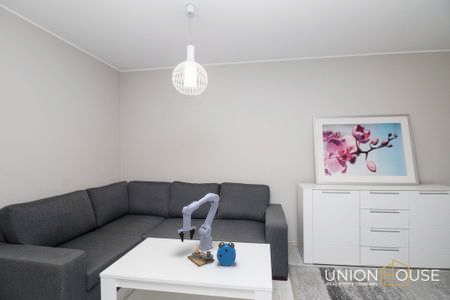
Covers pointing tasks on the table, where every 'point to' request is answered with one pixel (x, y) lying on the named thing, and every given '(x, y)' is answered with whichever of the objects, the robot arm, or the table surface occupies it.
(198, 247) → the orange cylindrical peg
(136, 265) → the table surface
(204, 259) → the wooden board with socket
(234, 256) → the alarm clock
